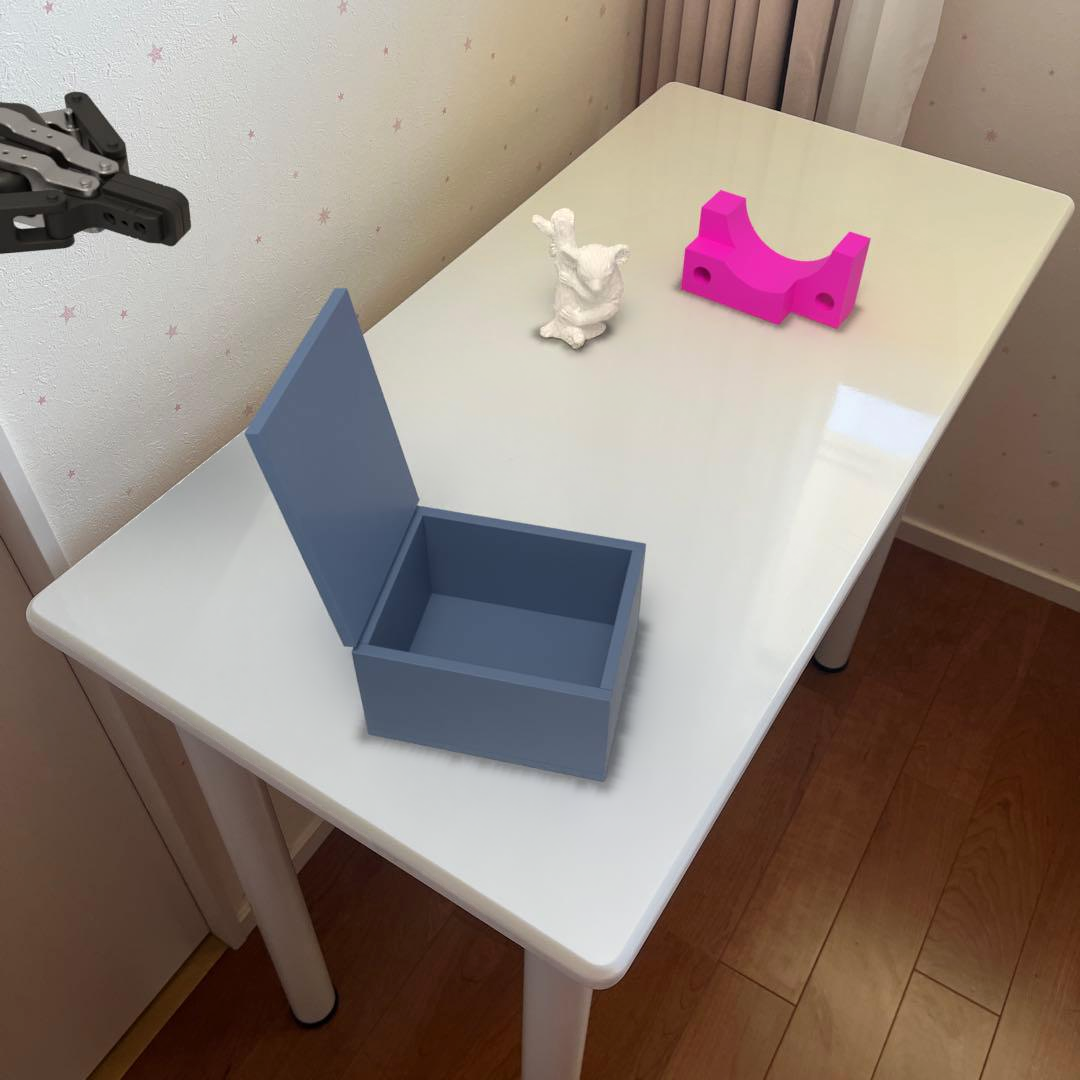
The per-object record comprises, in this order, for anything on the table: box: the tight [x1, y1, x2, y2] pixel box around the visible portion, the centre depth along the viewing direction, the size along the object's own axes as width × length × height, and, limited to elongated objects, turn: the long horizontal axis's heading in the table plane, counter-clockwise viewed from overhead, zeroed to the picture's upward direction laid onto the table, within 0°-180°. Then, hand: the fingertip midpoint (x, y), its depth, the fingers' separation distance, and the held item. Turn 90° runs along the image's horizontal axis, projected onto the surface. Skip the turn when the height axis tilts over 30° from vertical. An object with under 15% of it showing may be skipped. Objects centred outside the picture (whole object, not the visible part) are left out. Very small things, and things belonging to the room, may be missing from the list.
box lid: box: [244, 287, 420, 648], centre depth 63 cm, size 16×13×1 cm
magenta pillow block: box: [680, 189, 872, 329], centre depth 102 cm, size 15×6×8 cm, turn 56°
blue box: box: [350, 504, 647, 782], centre depth 71 cm, size 16×13×9 cm
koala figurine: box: [531, 207, 631, 350], centre depth 97 cm, size 8×7×12 cm
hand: (182, 222), depth 53 cm, fingers closed
